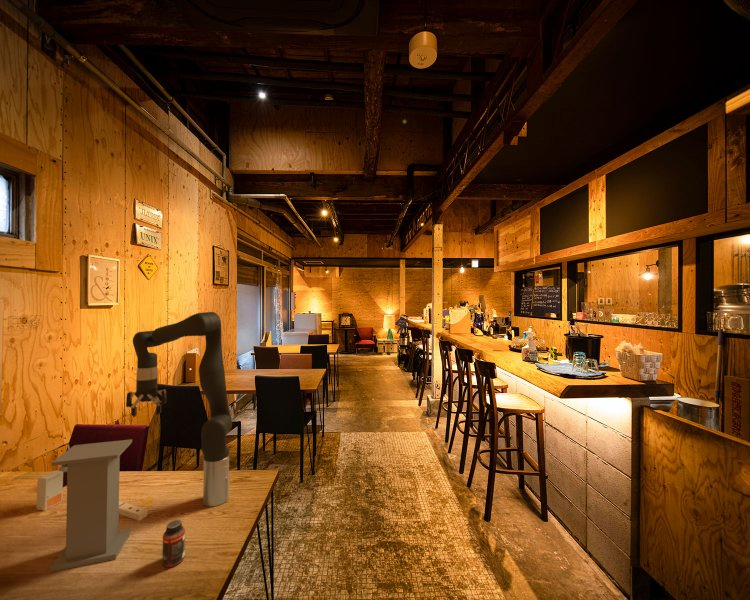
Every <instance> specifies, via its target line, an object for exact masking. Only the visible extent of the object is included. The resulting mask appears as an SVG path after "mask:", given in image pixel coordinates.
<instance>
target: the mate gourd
mask: <svg viewBox="0 0 750 600" xmlns="http://www.w3.org/2000/svg"><path fill="white" fill-rule="evenodd" d="M66 445H67V446H66V447H67V450H69V449H70V448H71V447H70V445H69V444H66ZM58 471H63V488H65V487H67V464H63V465H60V467H59V468H58Z"/></svg>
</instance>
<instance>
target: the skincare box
mask: <svg viewBox="0 0 750 600" xmlns="http://www.w3.org/2000/svg"><path fill="white" fill-rule="evenodd" d="M63 488H64V487H63V471H59V470H53V471H51V472H47V473H46V474H44V475H41V476H39V477H37V486H36V510H38V511H47V510H49V509H51V508H52V507H54V506H57V505H59V504H60V503H62V502H63V491H64V489H63Z"/></svg>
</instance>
